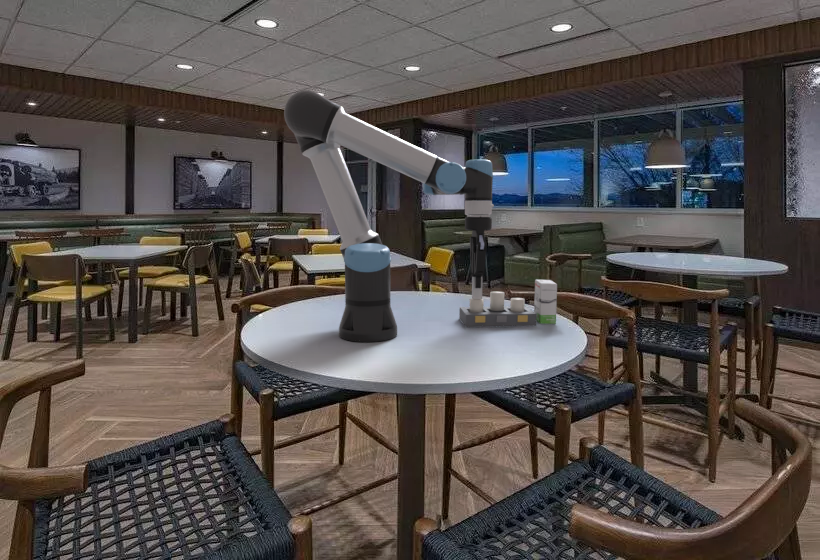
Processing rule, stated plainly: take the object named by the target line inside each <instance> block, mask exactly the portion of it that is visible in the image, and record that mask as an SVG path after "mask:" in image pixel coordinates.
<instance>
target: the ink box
mask: <svg viewBox="0 0 820 560" xmlns="http://www.w3.org/2000/svg"><path fill="white" fill-rule="evenodd" d="M557 296H558V284H557V283H556V282H554V281H553V280H552V279H535V280H534V302H533V306H534V307H533V312H535V313H536V314H537V319H536V322H537V323H538V324H542V325H543V324H544V325H545V324H547V325H549V324H550V325H554V324H555V325H556V324H557V304H558V302H557V301H558V299H557Z"/></svg>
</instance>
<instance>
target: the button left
mask: <svg viewBox="0 0 820 560" xmlns="http://www.w3.org/2000/svg"><path fill="white" fill-rule="evenodd" d="M484 300H485V299H484V298H482V299H472V298H470V299H469V307H470V308H469V312H483V307H485V306H484V302H485V301H484Z"/></svg>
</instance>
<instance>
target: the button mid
mask: <svg viewBox="0 0 820 560" xmlns="http://www.w3.org/2000/svg"><path fill="white" fill-rule="evenodd" d="M489 293H490V294H489V297H490V298H489V307H490V310H492V311H503V310H504V307H505V292H504V291H490V292H489Z"/></svg>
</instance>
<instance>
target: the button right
mask: <svg viewBox="0 0 820 560" xmlns="http://www.w3.org/2000/svg"><path fill="white" fill-rule="evenodd" d="M525 301H526V300H525V298H524V297H523V298H522V297H511V298H510V311H511V312H524V306H526V305H525Z"/></svg>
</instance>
